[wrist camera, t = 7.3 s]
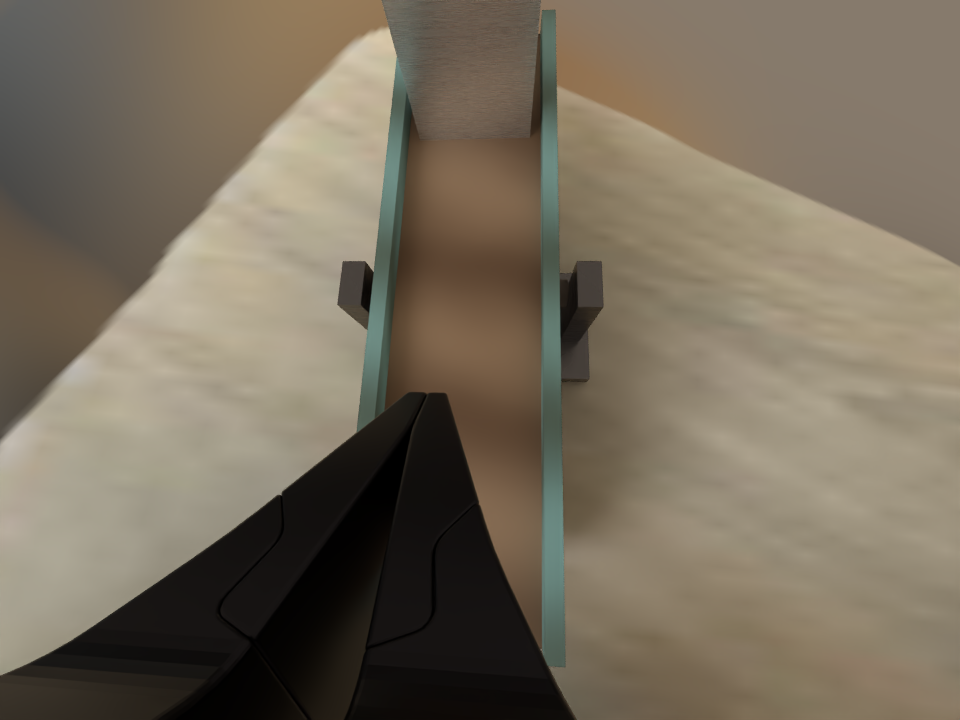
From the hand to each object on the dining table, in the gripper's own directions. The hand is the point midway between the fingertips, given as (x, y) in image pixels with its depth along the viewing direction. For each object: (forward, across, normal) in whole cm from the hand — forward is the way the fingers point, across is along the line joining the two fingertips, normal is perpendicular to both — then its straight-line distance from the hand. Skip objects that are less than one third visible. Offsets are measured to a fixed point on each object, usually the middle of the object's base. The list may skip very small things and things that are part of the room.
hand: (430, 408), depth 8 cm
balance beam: (+11, 0, +3) cm, 11 cm away
